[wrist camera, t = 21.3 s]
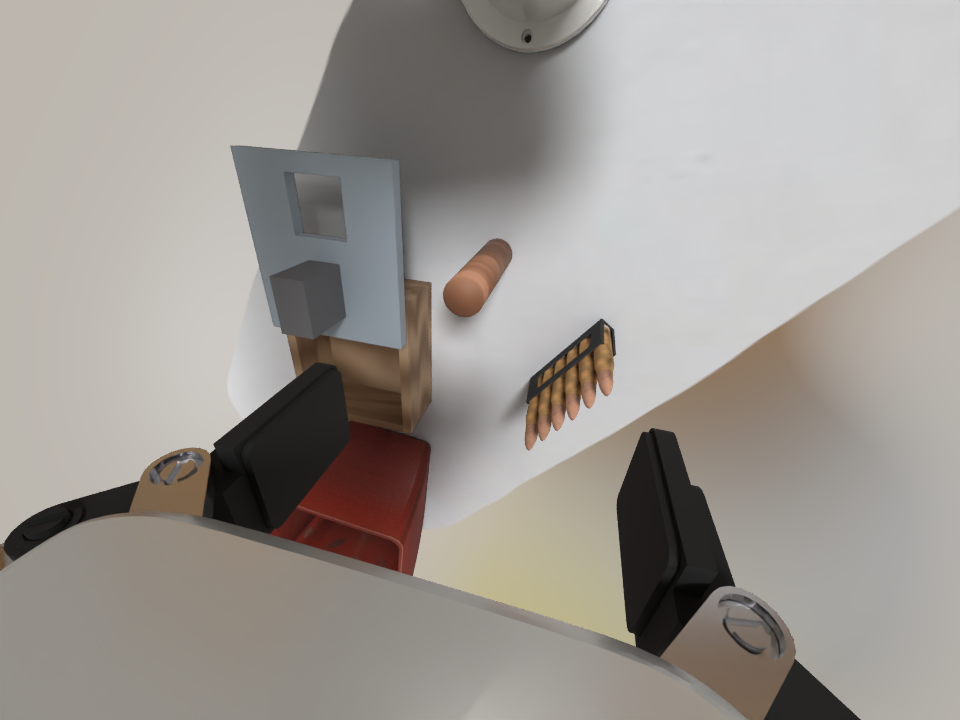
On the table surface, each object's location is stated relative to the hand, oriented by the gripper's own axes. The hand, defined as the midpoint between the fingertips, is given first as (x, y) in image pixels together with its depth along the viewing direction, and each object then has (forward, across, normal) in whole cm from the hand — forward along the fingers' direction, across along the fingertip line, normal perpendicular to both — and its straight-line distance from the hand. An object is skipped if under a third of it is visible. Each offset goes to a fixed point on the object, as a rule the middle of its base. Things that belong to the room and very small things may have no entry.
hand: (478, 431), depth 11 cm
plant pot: (+29, +19, +35) cm, 49 cm away
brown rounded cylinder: (+28, +5, +2) cm, 29 cm away
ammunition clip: (+29, -4, +12) cm, 31 cm away
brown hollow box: (+28, +19, +14) cm, 37 cm away
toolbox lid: (+21, +19, +2) cm, 29 cm away
